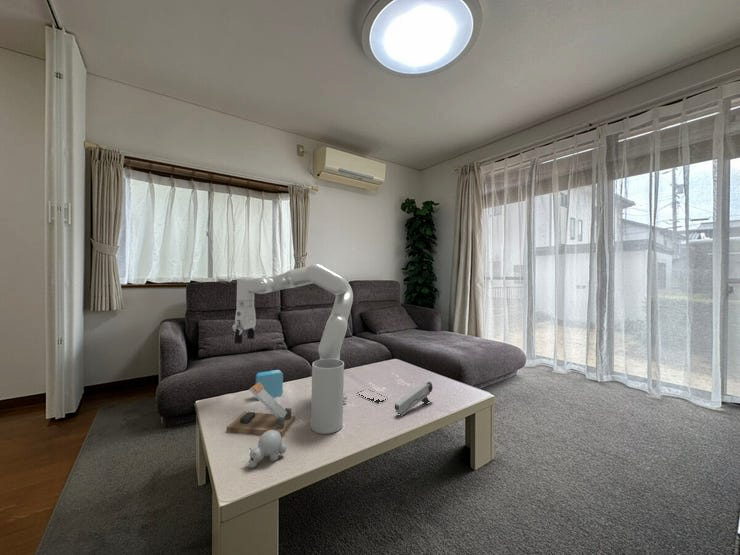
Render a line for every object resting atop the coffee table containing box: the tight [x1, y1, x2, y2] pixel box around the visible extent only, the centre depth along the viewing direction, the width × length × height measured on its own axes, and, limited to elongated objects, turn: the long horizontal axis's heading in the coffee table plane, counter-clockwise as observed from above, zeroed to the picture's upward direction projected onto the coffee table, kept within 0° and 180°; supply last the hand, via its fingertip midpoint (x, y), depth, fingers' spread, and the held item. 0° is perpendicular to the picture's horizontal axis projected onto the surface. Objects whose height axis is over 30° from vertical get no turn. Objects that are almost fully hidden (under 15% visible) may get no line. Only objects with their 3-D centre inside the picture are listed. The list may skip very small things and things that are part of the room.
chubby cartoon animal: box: [245, 430, 287, 469], centre depth 89 cm, size 7×12×8 cm, turn 135°
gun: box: [394, 381, 433, 416], centre depth 128 cm, size 2×25×10 cm, turn 131°
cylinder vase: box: [310, 359, 345, 435], centre depth 111 cm, size 12×12×25 cm
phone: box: [356, 389, 388, 404], centre depth 139 cm, size 8×1×15 cm
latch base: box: [225, 407, 296, 438], centre depth 109 cm, size 22×12×6 cm, turn 84°
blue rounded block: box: [255, 369, 284, 401], centre depth 136 cm, size 12×4×12 cm, turn 122°
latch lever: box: [248, 382, 288, 417], centre depth 109 cm, size 17×5×2 cm
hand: (244, 340), depth 129 cm, fingers open, 9 cm apart
